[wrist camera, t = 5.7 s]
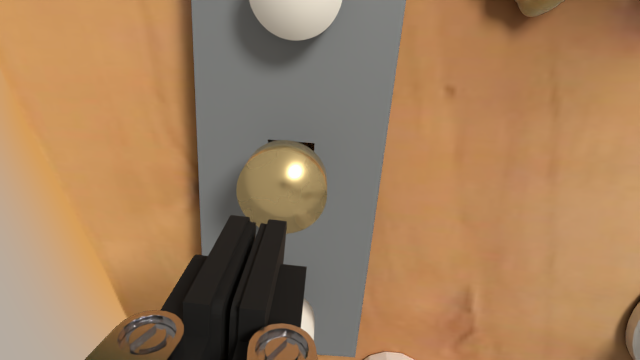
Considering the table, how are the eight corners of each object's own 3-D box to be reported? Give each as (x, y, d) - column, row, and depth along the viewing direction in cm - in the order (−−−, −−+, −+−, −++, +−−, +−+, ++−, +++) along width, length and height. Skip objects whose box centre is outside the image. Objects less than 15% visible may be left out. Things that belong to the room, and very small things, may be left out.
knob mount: (411, -108, 22) (424, -129, 19) (352, 329, 33) (355, 357, 31) (203, -126, 22) (185, -150, 19) (215, 320, 33) (205, 346, 31)
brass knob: (330, 130, 24) (330, 153, 19) (323, 199, 26) (323, 236, 21) (253, 124, 24) (236, 146, 19) (252, 194, 26) (236, 230, 21)
